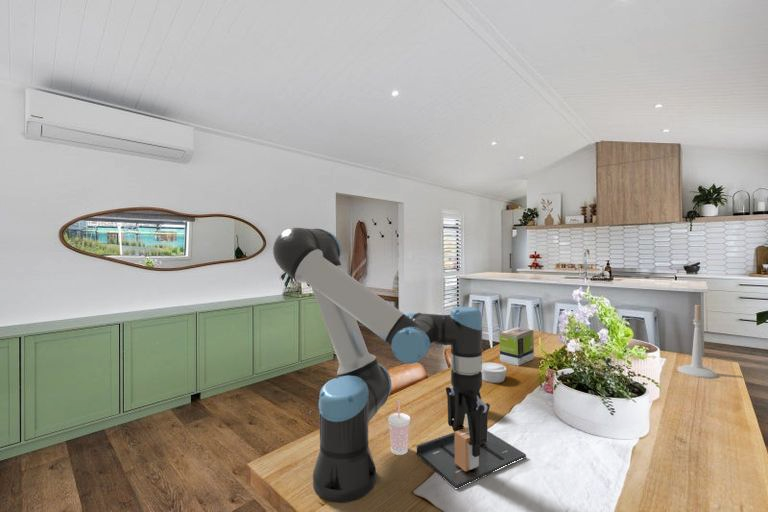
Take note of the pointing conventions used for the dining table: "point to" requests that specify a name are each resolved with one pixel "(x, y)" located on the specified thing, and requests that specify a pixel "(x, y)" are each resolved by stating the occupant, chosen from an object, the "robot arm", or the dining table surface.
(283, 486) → the dining table surface
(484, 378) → the ramekin
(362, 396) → the robot arm
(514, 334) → the tea box
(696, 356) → the candlestick
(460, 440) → the fader terracotta
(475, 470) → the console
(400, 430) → the beverage cup
